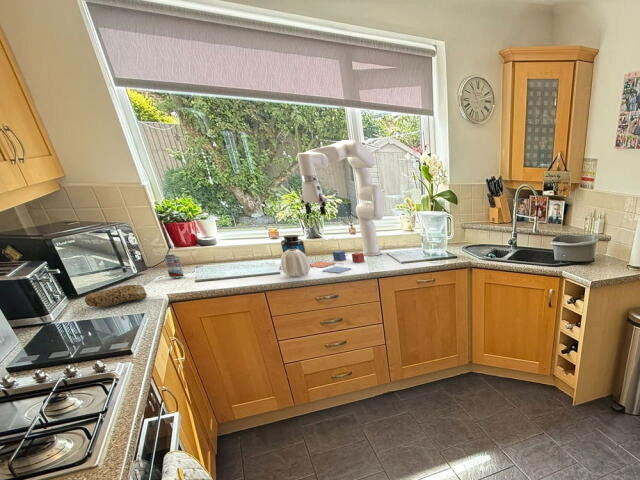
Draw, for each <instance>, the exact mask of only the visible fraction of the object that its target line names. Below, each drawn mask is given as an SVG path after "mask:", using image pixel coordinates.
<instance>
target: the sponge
mask: <svg viewBox="0 0 640 480" xmlns="http://www.w3.org/2000/svg"><path fill="white" fill-rule="evenodd" d="M147 297H148V294H147V292H146V289H145V287H144V286H143V285H142V284H126V285H120V286H116V287H113V288H110V289H106V290H100V291H95V292H90V293H89V294H87V295H86V296H85V297H84V300H83V301H84V302H85V305H86V306H89V307H92V308H105V307H112V306H116V305H119V304H122V303H126V302H130V301H138V300H139V301H140V300H144V299H146V298H147Z"/></svg>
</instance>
